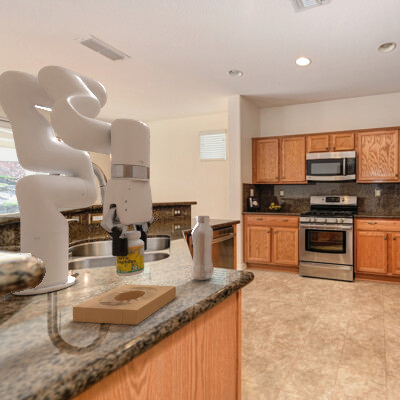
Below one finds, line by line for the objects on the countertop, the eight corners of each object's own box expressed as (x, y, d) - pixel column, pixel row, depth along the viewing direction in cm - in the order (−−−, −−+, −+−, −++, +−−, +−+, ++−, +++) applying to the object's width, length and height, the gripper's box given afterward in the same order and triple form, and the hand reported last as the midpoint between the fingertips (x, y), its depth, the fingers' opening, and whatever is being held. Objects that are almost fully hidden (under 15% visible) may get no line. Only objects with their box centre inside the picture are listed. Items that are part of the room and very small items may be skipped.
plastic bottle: (206, 283, 76) (207, 217, 76) (186, 281, 78) (187, 216, 77) (217, 276, 83) (218, 215, 82) (199, 275, 84) (199, 215, 84)
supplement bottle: (147, 269, 62) (147, 230, 62) (138, 276, 57) (139, 233, 56) (122, 270, 61) (122, 230, 60) (111, 277, 55) (111, 233, 55)
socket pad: (72, 321, 52) (72, 306, 52) (124, 295, 66) (124, 284, 66) (136, 324, 51) (136, 310, 51) (175, 297, 65) (175, 286, 65)
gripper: (141, 177, 67) (141, 245, 67) (80, 170, 50) (80, 261, 50) (168, 177, 67) (167, 246, 67) (116, 170, 50) (116, 263, 50)
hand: (130, 252), depth 59 cm, fingers closed on supplement bottle, 5 cm apart
